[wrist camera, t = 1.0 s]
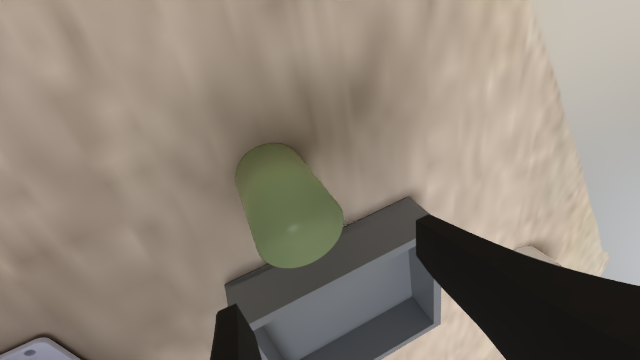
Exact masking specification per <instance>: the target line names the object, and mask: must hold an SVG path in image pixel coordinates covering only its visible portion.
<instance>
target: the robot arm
mask: <svg viewBox="0 0 640 360" xmlns="http://www.w3.org/2000/svg"><path fill="white" fill-rule="evenodd" d="M416 256H417V257H418V259H419V260H420V262H421V263H422V264H423V266H424V267H425V268H426V270H427V271H428V272H429V274H430V275H431V276H432V277H433V278H434V280H435V281H436V282H437V283H438V284H439V285H440V286H441V287H442V288H443V289H444V290H445V291H446V292H447V293H448V295H449V296H450V297H451V298H452V299H453V300H454V301H455V302H456V303H457V304H458V305H459V306H460V307H461V308H462V309H463V310H464V311H465V312H466V313H467V314H468V315H469V316H470V318H471V319H472V320H473V321H474V322H475V323H476V324H477V325H478V326H479V327H480V328H481V329H482V331H483V332H484V333H485V334H486V335H487V336H488V338H489V339H490V340H491V341H492V343H493V344H494V345H495V346H496V348H497V349H498V350H499V351H500V353H501V354H502V355H503V356H504V358H505V359H506V360H640V286H636V285H631V284H627V283H623V282H618V281H614V280H610V279H605V278H601V277H597V276H594V275H590V274H586V273H582V272H578V271H575V270H571V269H568V268H564V267H561V266H558V265H554V264H551V263H548V262H545V261H542V260H539V259H536V258H533V257H530V256H527V255H524V254H522V253H519V252H516V251H514V250H511V249H508V248H506V247H503V246H501V245H498V244H496V243H493V242H491V241H488V240H486V239H484V238H481V237H479V236H477V235H474V234H472V233H470V232H467V231H465V230H463V229H461V228H459V227H456V226H454V225H452V224H450V223H448V222H445V221H443V220H441V219H439V218H437V217H434V216H432V215H430V214H428V215H426V216H424V217H421V218H419V219H417V220H416ZM0 360H81V359H79V358H78V357H76V356H75V355H73V354H72V353H70V352H69V351H67V350H66V349H64V348H63V347H61V346H60V345H58V344H57V343H55V342H54V341H52V340H51V339H49V338H44V337H43V338H37V339H35V340H32V341H30V342H28V343H26V344H24V345H21V346H19V347H17V348H15V349H13V350H11V351H8V352H6V353H4V354H2V355H0ZM210 360H262V358H261V354H260V351H259V347H258V343H257V340H256V336H255V334H254V332H253V330H252V329H251V327H250V325H249V324H248V322H247V320H246V319H245V317H244V315H243V314H242V312H241V310H240V309H239V307H238V305H237V304H236V303H235V304H233V305H231V306H229V307H227V308H225V309H222V310H220V311H218V313H217V315H216V323H215V332H214V339H213V345H212V351H211V357H210Z"/></svg>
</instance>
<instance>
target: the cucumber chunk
mask: <svg viewBox="0 0 640 360" xmlns="http://www.w3.org/2000/svg"><path fill="white" fill-rule="evenodd" d="M235 179H236V185H237V188H238V192H239V195H240V198H241V201H242V204H243V207H244V210H245V213H246V217H247V220H248V223H249V226H250V229H251V232H252V235H253V239H254V242H255V245H256V248H257V251H258V253H259V255H260V256H261V258H262V259H263V260H264V261H266V262H267V263H269V264H270V265H272V266H275V267H279V268H297V267H301V266H305V265H308V264H310V263H312V262H314V261H316V260H318V259H319V258H321V257H322V256H324V255H325V254H326V253H327V252H328V251H329V250H330V249H331V248H332V247H333V246H334V245H335V243H336V242H337V240H338V239H339V237H340V235H341V232H342V229H343V224H344V217H343V212H342V209H341V207H340V205H339V204H338V203H337V202H336V200H335V199H334V198H333V197H332V196H331V194H330V193H329V192H328V191H327V189H326V188H325V187H324V186H323V184H322V183H321V182H320V181H319V180H318V178H317V177H316V176H315V175H314V173H313V172H312V171H311V170H310V168H309V167H308V166H307V165H306V164H305V162H304V161H303V160H302V159H301V157H300V156H299V155H298V154H297V152H295V151H294V150H293V149H292V148H290V147H288V146H286V145H283V144H278V143H268V144H264V145H261V146H258V147H256V148H254V149H252V150H251V151H249V152H248V153H247V154H246V155H245V156H244V157H243V158H242V160H241V161H240V163H239V165H238V167H237V170H236V177H235Z"/></svg>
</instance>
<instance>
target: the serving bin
mask: <svg viewBox="0 0 640 360" xmlns="http://www.w3.org/2000/svg"><path fill="white" fill-rule="evenodd" d="M428 214H429V213H428V212H427V211H425V210H424V209H423V208H422V207H421V206H419V205H418V204H417V203H416V202H414V201H413V200H412V199H411V198H410V197H407V198H405V199H402V200H400V201H398V202H396V203H394V204H392V205H390V206H388V207H386V208H384V209H382V210H380V211H377V212H375V213H373V214H371V215H369V216H367V217H365V218H363V219H361V220H359V221H357V222H354V223H352V224H350V225H348V226H346V227H344V228H343V229H342V232H341V235H340V237H339V239H338V240H337V242H336V243H335V245H334V246H333V247H332V248H331V249H330V250H329V251H328V252H327V253H326V254H325V255H324V256H322V257H321V258H319V259H318V260H316V261H314V262H312V263H310V264H308V265H305V266H301V267H297V268H279V267H275V266H272V265H270V264H267V265H265V266H263V267H261V268H259V269H256V270H254V271H252V272H250V273H248V274H246V275H244V276H242V277H240V278H238V279H236V280H233V281H231V282H229V283H227V284H225V290H226V296H227V302H228V307H229V306H231V305H233V304H235V303H236V304H237V305H238V307H239V309H240V310H241V312H242V314H243V315H244V317H245V319H246V320H247V322H248V324H249V325H250V327H251V329H252V330H253V332H254V334H255V336H256V340H257V343H258V347H259V351H260V354H261V358H262V360H381V359H383V358H384V357H386V356H388V355H389V354H391V353H393V352H394V351H396V350H398V349H400V348H401V347H403V346H405V345H406V344H408V343H410V342H411V341H413V340H415V339H416V338H418V337H420V336H421V335H423V334H425V333H426V332H428V331H430V330H431V329H433V328H435V327H436V326H438V325H440V323H441V286H440V285H439V284H438V283H437V282H436V281H435V280H434V278H433V277H432V276H431V275H430V274H429V272H428V271H427V270H426V268H425V267H424V266H423V264H422V263H421V262H420V260H419V259H418V257H417V256H416V220H417V219H419V218H421V217H424V216H426V215H428Z"/></svg>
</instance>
